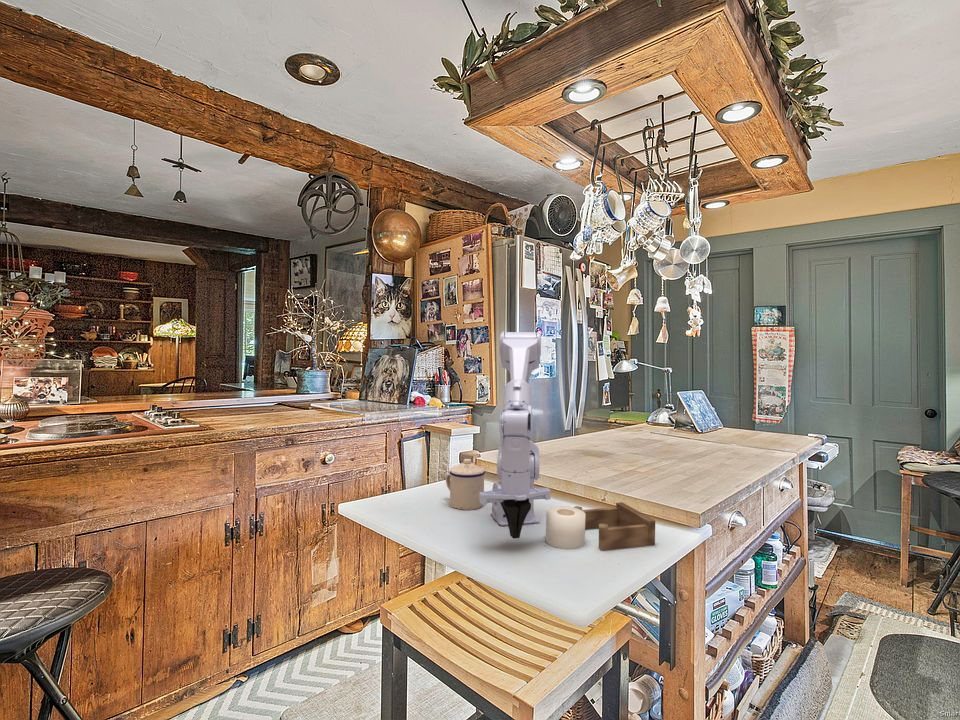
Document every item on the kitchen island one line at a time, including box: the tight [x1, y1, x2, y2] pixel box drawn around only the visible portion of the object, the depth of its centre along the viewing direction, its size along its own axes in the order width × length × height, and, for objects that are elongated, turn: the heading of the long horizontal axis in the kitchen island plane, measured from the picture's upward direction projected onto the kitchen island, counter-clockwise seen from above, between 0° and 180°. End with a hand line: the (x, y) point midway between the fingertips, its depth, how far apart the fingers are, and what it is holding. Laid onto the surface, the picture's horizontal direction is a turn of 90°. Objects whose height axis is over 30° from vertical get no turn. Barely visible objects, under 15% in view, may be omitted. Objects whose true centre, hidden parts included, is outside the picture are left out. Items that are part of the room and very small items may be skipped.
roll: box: [545, 505, 586, 550], centre depth 101 cm, size 8×8×6 cm
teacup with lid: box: [445, 458, 486, 511], centre depth 125 cm, size 12×9×12 cm
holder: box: [573, 501, 656, 552], centre depth 104 cm, size 12×13×5 cm
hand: (514, 536), depth 98 cm, fingers closed
